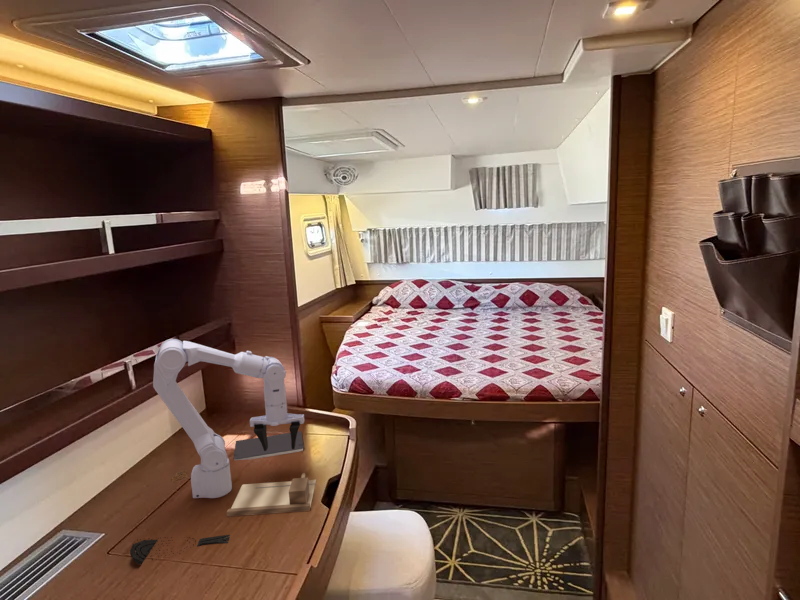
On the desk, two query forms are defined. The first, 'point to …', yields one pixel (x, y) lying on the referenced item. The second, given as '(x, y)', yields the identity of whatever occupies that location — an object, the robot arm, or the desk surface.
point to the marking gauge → (299, 490)
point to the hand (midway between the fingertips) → (279, 448)
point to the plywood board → (267, 499)
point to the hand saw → (179, 476)
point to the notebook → (275, 446)
